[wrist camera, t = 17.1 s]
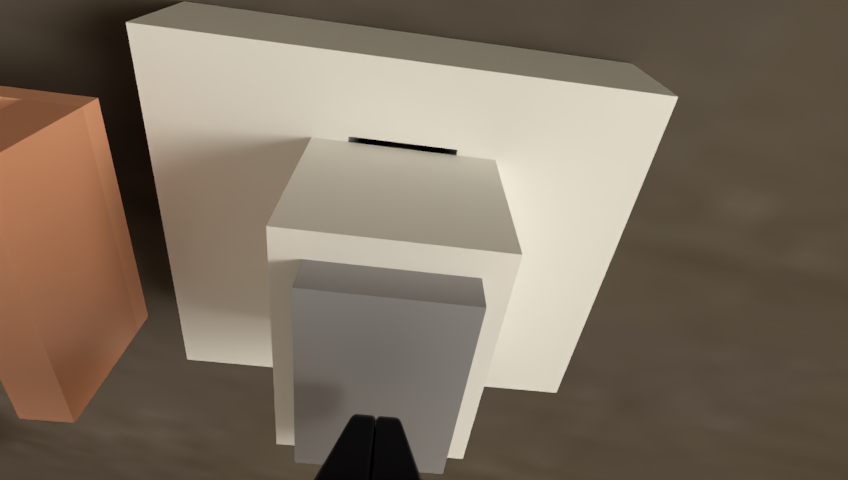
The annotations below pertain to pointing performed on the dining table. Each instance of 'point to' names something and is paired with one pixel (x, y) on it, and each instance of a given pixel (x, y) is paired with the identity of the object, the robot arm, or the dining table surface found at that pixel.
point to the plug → (387, 294)
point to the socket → (395, 122)
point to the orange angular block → (61, 255)
